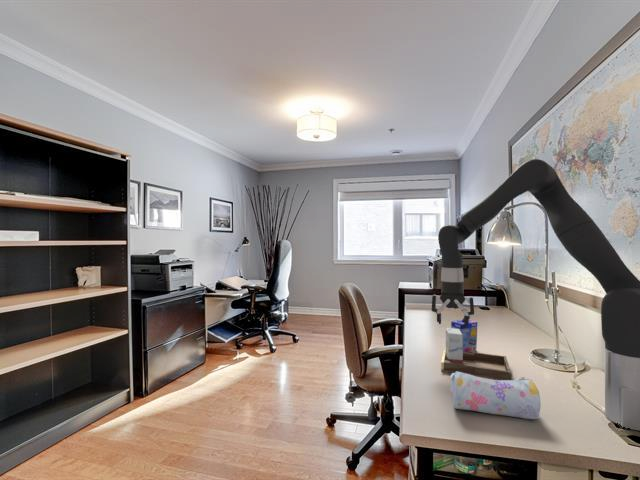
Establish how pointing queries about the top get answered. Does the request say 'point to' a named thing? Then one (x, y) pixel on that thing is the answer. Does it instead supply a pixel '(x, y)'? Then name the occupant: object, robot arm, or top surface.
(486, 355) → the wooden tray
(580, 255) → the robot arm
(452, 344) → the ink box
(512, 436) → the top surface
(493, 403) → the pencil case
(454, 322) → the ink cartridge box
